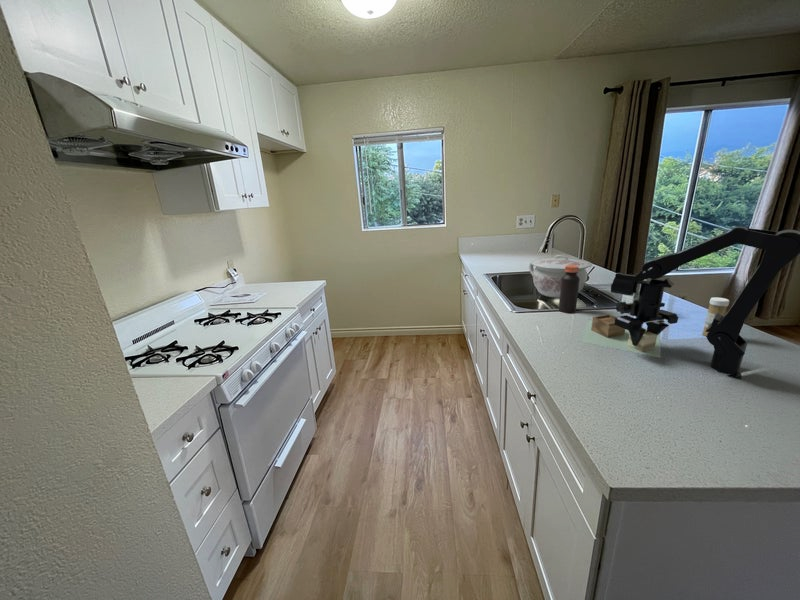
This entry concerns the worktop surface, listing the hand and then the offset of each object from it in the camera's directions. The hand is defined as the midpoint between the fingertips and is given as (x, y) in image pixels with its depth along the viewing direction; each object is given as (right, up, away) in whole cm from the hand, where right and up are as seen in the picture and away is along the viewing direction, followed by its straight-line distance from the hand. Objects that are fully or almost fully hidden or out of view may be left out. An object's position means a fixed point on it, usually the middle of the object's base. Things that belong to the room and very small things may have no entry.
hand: (641, 344), depth 103 cm
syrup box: (+20, +9, +33) cm, 39 cm away
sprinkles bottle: (+30, +2, +7) cm, 31 cm away
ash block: (0, -1, 0) cm, 1 cm away
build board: (0, +1, +9) cm, 9 cm away
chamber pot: (+2, +17, +60) cm, 62 cm away
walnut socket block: (-3, +3, +12) cm, 13 cm away
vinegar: (-4, +10, +37) cm, 39 cm away
